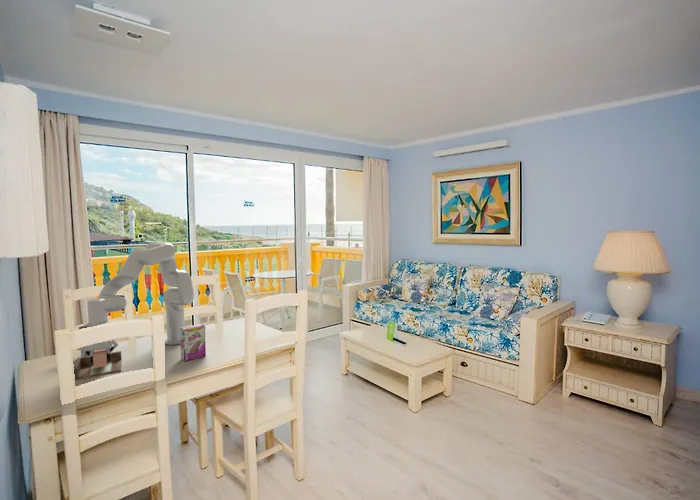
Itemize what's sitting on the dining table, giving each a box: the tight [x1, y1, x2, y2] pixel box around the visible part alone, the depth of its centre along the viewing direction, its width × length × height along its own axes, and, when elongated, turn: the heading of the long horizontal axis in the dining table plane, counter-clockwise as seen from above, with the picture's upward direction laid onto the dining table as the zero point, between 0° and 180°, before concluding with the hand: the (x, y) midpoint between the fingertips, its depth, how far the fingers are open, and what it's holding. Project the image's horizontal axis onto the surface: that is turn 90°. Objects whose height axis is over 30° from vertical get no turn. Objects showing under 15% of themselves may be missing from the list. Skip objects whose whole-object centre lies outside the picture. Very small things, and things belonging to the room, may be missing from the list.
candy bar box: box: [180, 323, 207, 362], centre depth 191 cm, size 11×5×16 cm, turn 134°
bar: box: [93, 349, 107, 368], centre depth 176 cm, size 10×5×6 cm, turn 30°
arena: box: [73, 350, 123, 381], centre depth 177 cm, size 18×16×5 cm
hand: (100, 362), depth 177 cm, fingers closed on bar, 5 cm apart
